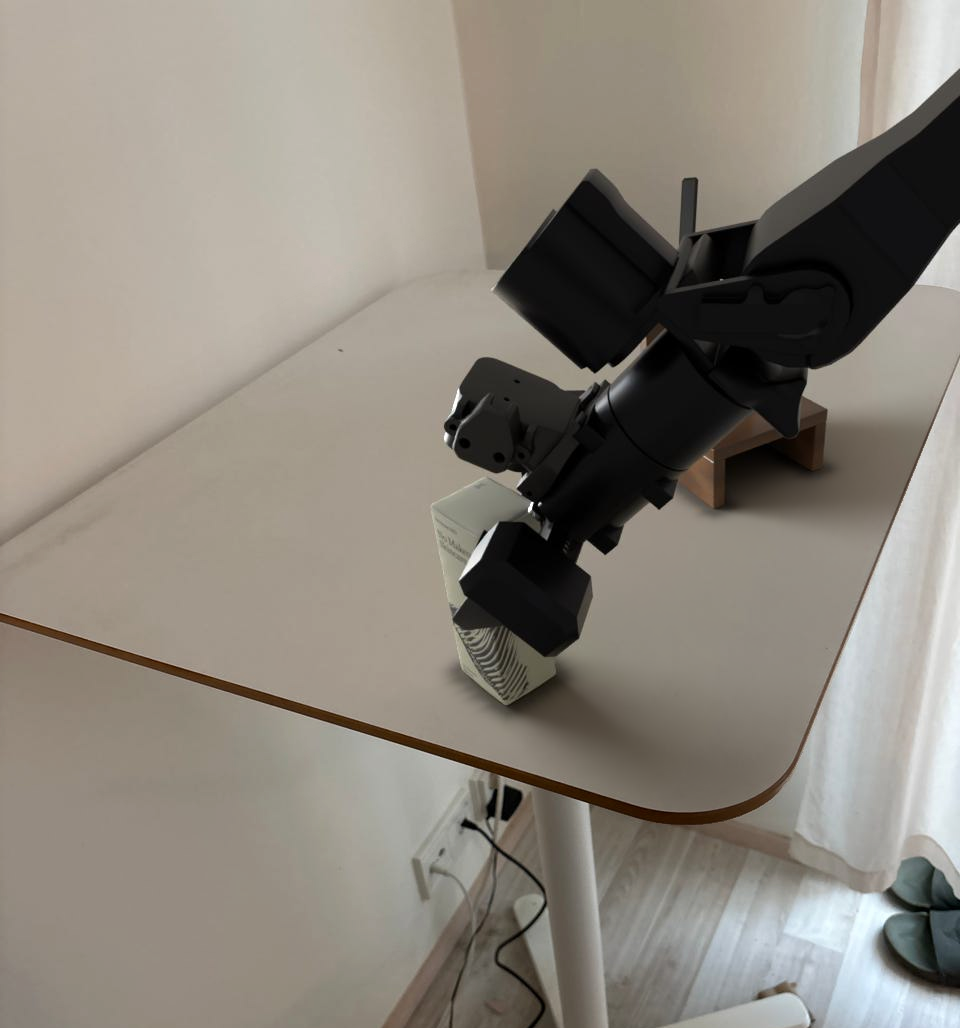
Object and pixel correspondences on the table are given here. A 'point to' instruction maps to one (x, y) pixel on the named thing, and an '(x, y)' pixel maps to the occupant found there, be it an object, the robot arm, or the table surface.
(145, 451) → the table surface
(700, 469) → the wooden doll chair
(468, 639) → the box
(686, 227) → the cocoa
